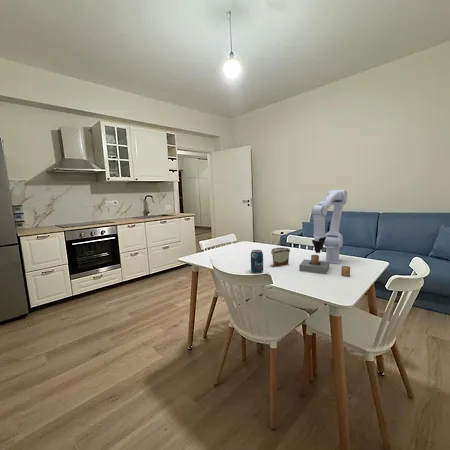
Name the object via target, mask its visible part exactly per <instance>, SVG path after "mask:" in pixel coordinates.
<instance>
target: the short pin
mask: <svg viewBox="0 0 450 450" xmlns="http://www.w3.org/2000/svg"><path fill="white" fill-rule="evenodd" d="M340 274H341V276H342V277H345V278H349V277H351V266H349V265H342V266H341V273H340Z"/></svg>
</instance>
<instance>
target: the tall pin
mask: <svg viewBox="0 0 450 450" xmlns="http://www.w3.org/2000/svg"><path fill="white" fill-rule="evenodd" d="M310 260H311V264H312V265H319V261H320V256H319V255H318V254H311V255H310Z"/></svg>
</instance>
